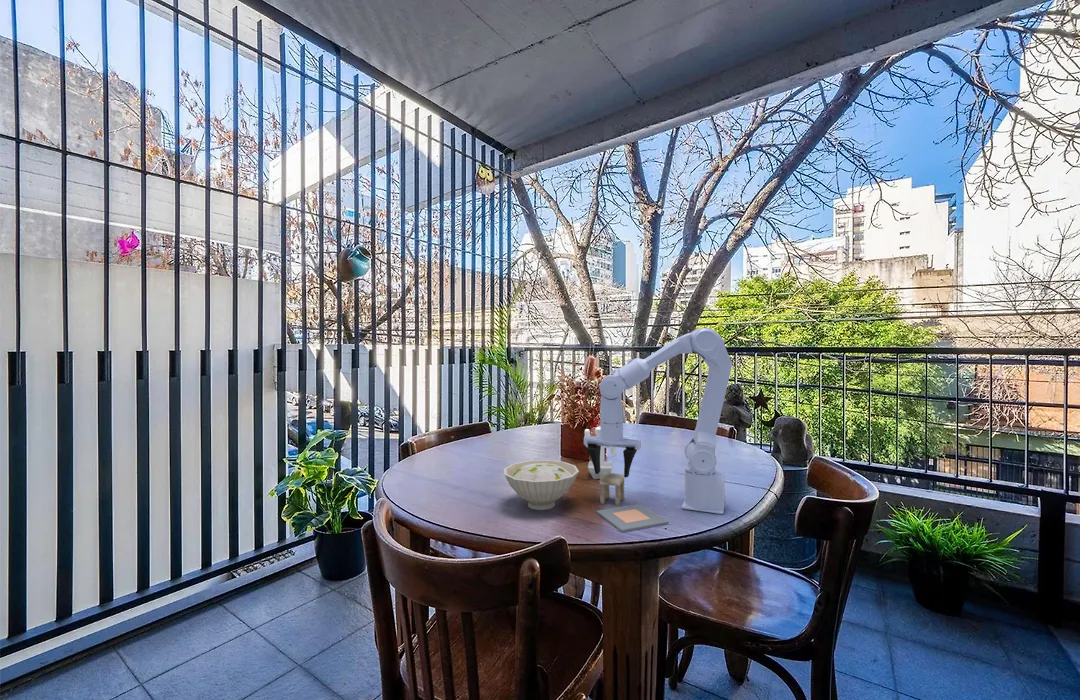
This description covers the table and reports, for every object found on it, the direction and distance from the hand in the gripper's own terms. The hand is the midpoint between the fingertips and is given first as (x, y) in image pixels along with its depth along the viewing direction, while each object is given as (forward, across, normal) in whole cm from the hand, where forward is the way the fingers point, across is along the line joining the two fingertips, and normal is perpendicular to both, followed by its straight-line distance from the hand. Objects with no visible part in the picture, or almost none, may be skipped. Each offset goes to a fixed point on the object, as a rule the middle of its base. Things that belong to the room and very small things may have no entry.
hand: (611, 474), depth 118 cm
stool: (+7, 0, 0) cm, 7 cm away
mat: (+7, -7, +9) cm, 13 cm away
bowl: (+7, +16, +9) cm, 20 cm away
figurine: (+7, +9, -19) cm, 22 cm away
